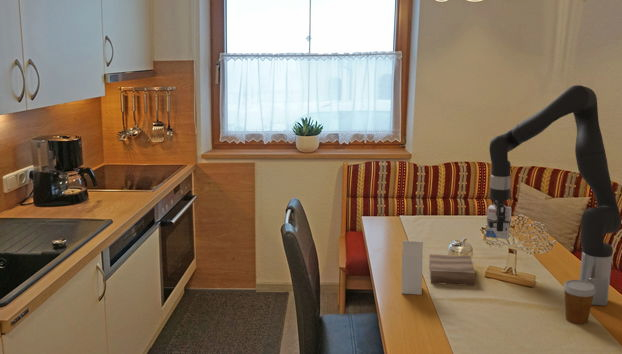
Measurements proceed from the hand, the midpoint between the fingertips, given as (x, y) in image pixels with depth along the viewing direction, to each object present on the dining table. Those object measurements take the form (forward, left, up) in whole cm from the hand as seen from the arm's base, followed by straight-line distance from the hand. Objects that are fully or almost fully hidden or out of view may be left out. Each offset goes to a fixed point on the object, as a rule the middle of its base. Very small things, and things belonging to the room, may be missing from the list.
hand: (498, 228), depth 221 cm
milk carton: (-24, +33, -18) cm, 44 cm away
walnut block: (-7, +18, -18) cm, 26 cm away
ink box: (0, 0, -3) cm, 3 cm away
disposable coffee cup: (-40, -19, -18) cm, 48 cm away
